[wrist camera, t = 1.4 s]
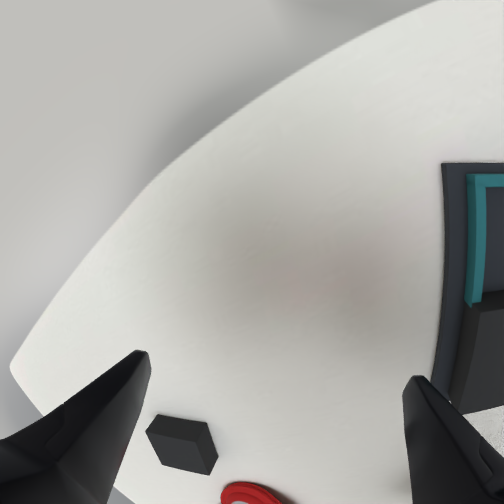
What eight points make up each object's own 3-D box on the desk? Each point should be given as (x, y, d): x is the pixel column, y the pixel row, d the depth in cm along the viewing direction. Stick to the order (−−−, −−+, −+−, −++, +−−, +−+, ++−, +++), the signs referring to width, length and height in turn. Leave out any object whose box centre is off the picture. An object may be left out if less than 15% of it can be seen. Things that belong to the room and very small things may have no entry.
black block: (218, 457, 30) (209, 475, 27) (172, 448, 31) (162, 464, 29) (206, 422, 28) (195, 442, 26) (157, 414, 30) (144, 431, 27)
